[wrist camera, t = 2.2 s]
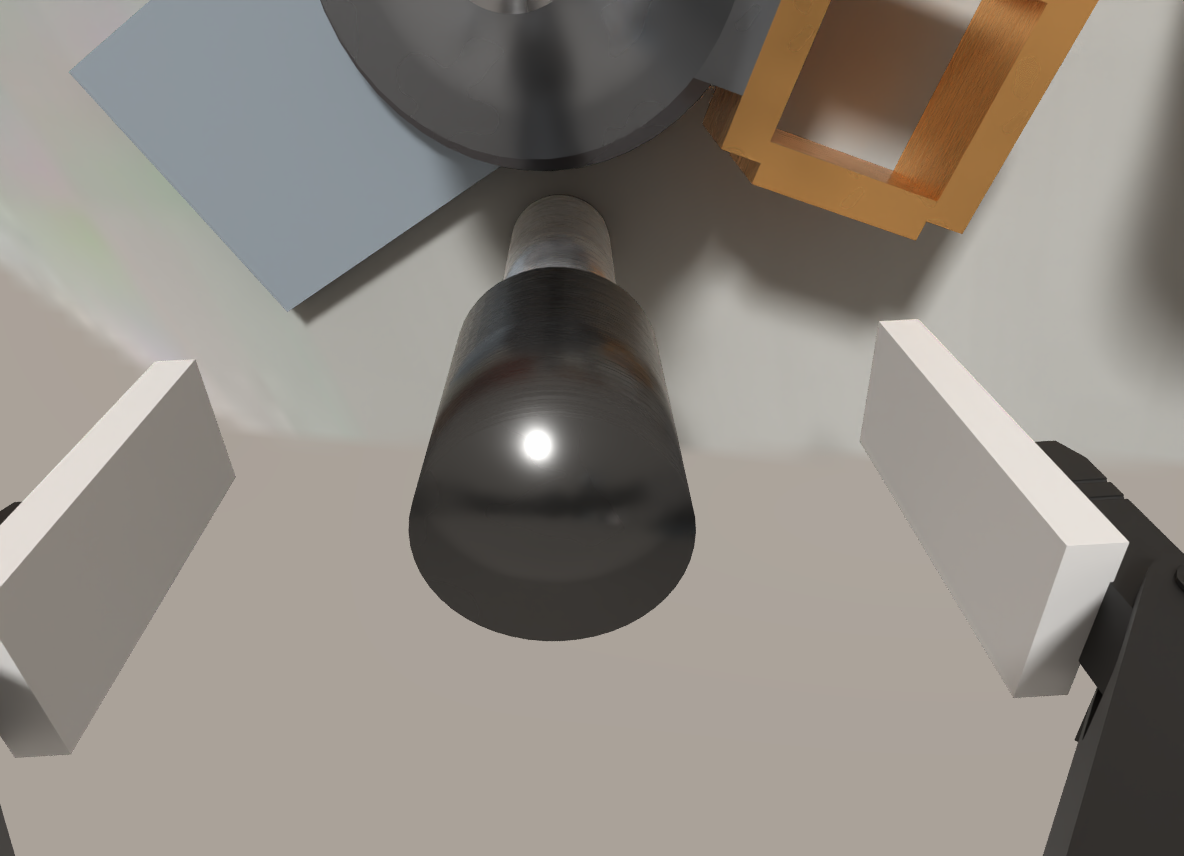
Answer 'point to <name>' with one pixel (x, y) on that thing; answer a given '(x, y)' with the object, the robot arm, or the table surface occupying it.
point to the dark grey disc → (569, 162)
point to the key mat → (271, 135)
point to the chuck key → (554, 447)
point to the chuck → (719, 57)
